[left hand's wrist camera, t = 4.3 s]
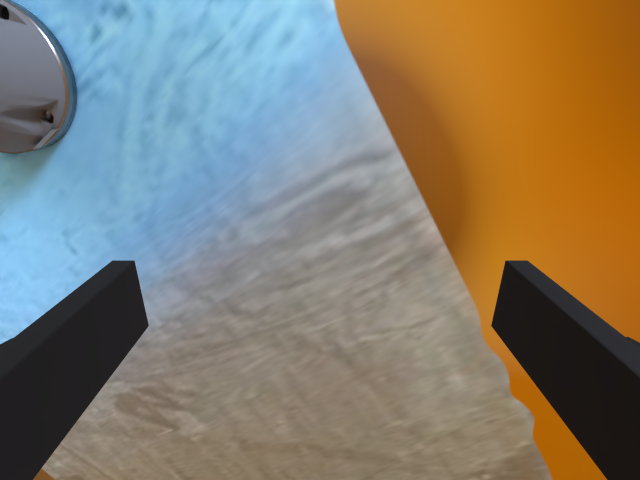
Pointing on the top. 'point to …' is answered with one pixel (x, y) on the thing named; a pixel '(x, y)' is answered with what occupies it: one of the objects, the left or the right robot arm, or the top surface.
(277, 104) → the top surface
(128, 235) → the top surface
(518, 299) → the left robot arm
